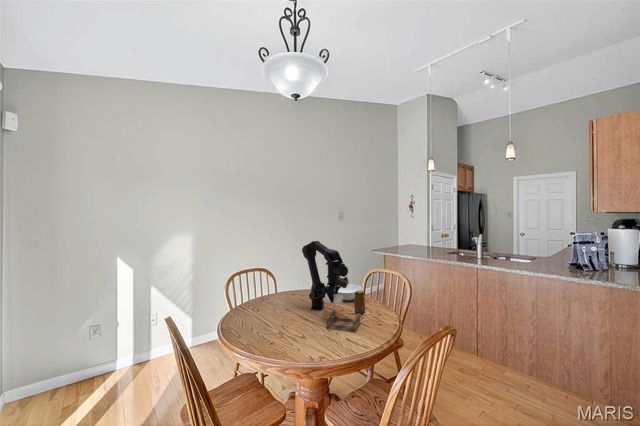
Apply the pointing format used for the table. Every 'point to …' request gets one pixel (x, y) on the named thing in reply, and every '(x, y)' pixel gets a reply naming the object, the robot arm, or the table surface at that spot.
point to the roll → (337, 299)
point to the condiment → (359, 303)
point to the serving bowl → (349, 291)
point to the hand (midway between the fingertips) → (333, 301)
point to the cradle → (343, 323)
